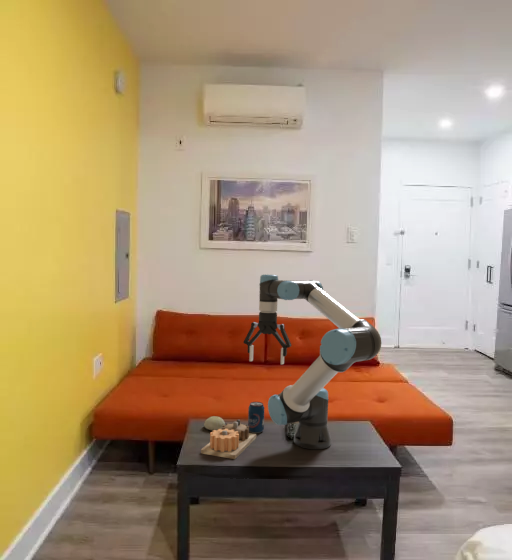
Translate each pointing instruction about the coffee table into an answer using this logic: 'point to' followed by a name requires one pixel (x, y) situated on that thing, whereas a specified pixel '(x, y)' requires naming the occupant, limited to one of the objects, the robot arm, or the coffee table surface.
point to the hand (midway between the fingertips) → (266, 362)
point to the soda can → (256, 417)
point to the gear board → (244, 441)
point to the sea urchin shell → (214, 423)
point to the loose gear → (224, 440)
